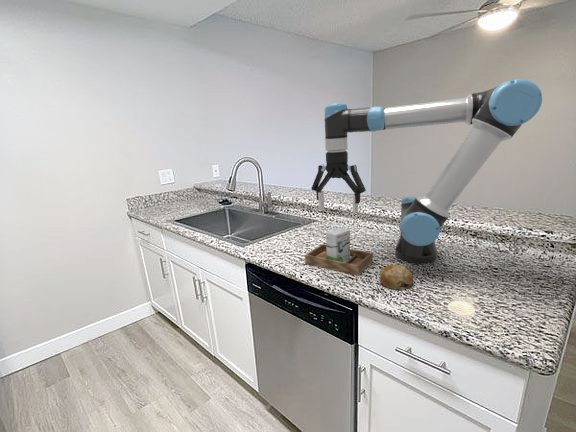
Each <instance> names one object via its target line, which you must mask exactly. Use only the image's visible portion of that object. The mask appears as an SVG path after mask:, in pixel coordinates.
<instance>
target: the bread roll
mask: <svg viewBox="0 0 576 432" xmlns="http://www.w3.org/2000/svg"><path fill="white" fill-rule="evenodd" d="M378 275H379V280H380V281H379V282H380V283H381V284H382V285H383V287H386V288H389V289H392V290H400V291H404V290H406V289H408V288H410V287H411V286H413V284H414V276H413V274H412V273H411V271H410V270H409V269H407V267H406V266H403V265H402V264H398V263H396V264H388V265H387V266H384V267H382V268H381V271H379V272H378Z"/></svg>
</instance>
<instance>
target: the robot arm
mask: <svg viewBox="0 0 576 432" xmlns="http://www.w3.org/2000/svg"><path fill="white" fill-rule="evenodd" d="M542 103H543V94H542V90H541V89H540V87H539V86H538V85H537V84H536V83H535V82H533V81H531V80H528V79H523V78H517V79H510V80H506V81H504V82H502V83H501V84H499V85H497V86H495V87H493V88H490V89H488V90H484V91H480V92H473V93H468V95H467V96H466V97H462V98H454V99H452V98H451V99H445V100H437V101H431V102H430V101H429V102H422V103H415V104H406V105H397V106H389V107H383V106H369V107H359V108H349V107H348V105H347V103H345V102H344V103H343V102H342V103H341V102H340V103H339V102H338V103H330V104H327V105H326V106H324V107H325V108H324V119H323V120H324V132H325V133H324V134H325V142H324V143H325V151H326V152H325V163H326V165H324V164H321V165H318V167H317V168H318V169H317V173H316V176H315V178H314V181H313V183H312V185H311V190H312V191H315V192H316V200H317V201H318V210H319V211H321V210H323V209H325V193H324V190H323V189H324V187H326V185H327V184H328V182H329V181H330V180H331V179H335V178H336V179H342V180H343V181H345V183H346V184H347V186H348V187H349V188H350V189H351V190H352V192H353V193H352V214H356V213H358V212H359V204H360V203H361V194H362V193H365V192H366V191H367V190H366V187H365V185H364V183H363V180H362V178H361V177H360V174H359V172H358V169H357V168H358V167H357V165H356V164H352V165H348V164H349V163H348V158H349V157H348V156H349V155H348V151H347V150H348V133H365V132H366V133H367V132H370V133H371V132H374V133H375V132H377V131H378V132H379V131H385V130H395V129H404V128H405V129H406V128H416V127H426V126H435V125H436V126H437V125H448V124H458V123H465V124H466V125H470V126H471V125H472V128H471V129H470V131H469V132H468V133H467V135H466V136H465V137H464V139H463V140H462V142H461V143H460V144H459V146H458V147H457V148H456V150H455V151H454V152H453V155H451V157H450V159H449V160H448V161H447V162H446V164H445V165H444V167H443V168H442V169H441V171H440V172H439V174H438V175H437V176H436V178H435V179H433V180H434V181H433V182H432V184H430V186H429V187H428V188H427V190H426V192H424V194H423V195H419V196H405V197H403V198H401V203H400V206H401V208H400V223H399V226H398V227H399V233H400V234H399V238H398V240H397V243H396V245H395V248H394V254H395V256H396V258H398V259H400V260H401V261H404V262H409V263H415V264H416V263H418V264H421V263H422V264H425V263H431V262H434V261H436V260H437V259H438V248H437V246H436V243H435V241H436V240H437V239H438V238H439V235H440V232H441V228H442V227H443V225H444V224H445V223H446V221H447V220H448V219H449V218H450V212H449V210H450V208H451V207H452V205H454V203H455V202H456V200H458V198H459V197H460V195H461V194H462V193H463V192H464V190H465V189H466V188H467V186H468V185H469V184H470V183H471V182H472V180H473V178H475V176H476V175H477V174H478V172H479V171H480V170H481V168H482V167H483V166H484V165H485V163H486V162H487V161H488V159H489V158H490V157H491V155H492V154H493V153H494V152H495V150H496V149H497V148H498V146H499V145H500V144H501V143H502V142H503V141H507V140H510V139H512V138H513V137H514V135H515V134H516V133H517V132H518V130H520V128H521V127H522V125H523V124H526V123H528V122H529V121H530V120H532V119H533V118H534V117H535V116H536V115H537V114H538V112H539V111H540V109H541V108H542V107H541V106H542ZM348 170H349V172H350V174H351V176H352V178H353V179H352V178H351V177H350V175H349V173H348ZM325 171H326V172H327V173H326V174H325V175H324V172H325ZM323 175H324V178H323V179H322V177H323Z"/></svg>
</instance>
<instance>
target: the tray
mask: <svg viewBox="0 0 576 432" xmlns="http://www.w3.org/2000/svg"><path fill="white" fill-rule="evenodd" d="M373 254H374V253H373V252H369V251H365V250H364V251H363V250H359V249H358V250H357V249H352V248H350V259H348V260H346V261H344V262H340V261H335V260H330V259H327V250H326V244H324V243H322V244H320V245H319V246H317V247H316V248H313V249H312V250H310V251H309V252H307V253H306V254H304V261H305V262H304V264H306V265H309V266H315V267H319V268H322V269H327V270H331V271H332V270H333V271H335V272H340V273H345V274H348V275H354V276H357V277H358V276H360V274H361V273H363V272H364V271H365V270H366V269H367V268H368V266H370V264H372V263H373V258H374V257H373V256H374V255H373Z"/></svg>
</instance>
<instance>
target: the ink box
mask: <svg viewBox="0 0 576 432" xmlns="http://www.w3.org/2000/svg"><path fill="white" fill-rule="evenodd" d="M325 243H326V244H325V245H326V250H327V259H330V260H335V261H340V262H344V261H346V260H348V259H350V249H351V229H347V228H344V227H337V228H333V229H331V230H329V231H327V232H326V233H325Z"/></svg>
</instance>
